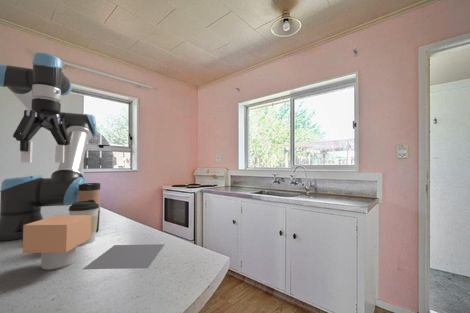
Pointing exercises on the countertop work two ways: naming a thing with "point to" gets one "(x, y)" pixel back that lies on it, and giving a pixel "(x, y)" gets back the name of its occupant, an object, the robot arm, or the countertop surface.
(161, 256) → the countertop surface
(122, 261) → the mat
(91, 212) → the coffee cup
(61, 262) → the white soda can
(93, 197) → the travel mug
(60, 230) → the orange block
